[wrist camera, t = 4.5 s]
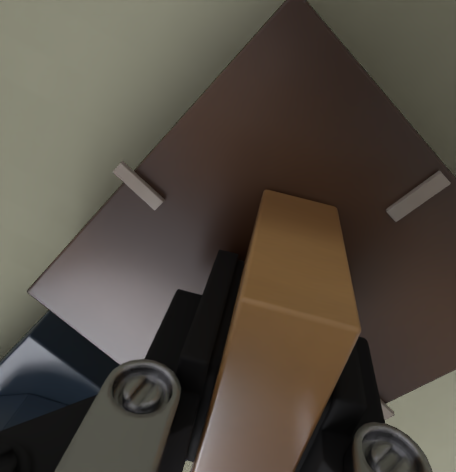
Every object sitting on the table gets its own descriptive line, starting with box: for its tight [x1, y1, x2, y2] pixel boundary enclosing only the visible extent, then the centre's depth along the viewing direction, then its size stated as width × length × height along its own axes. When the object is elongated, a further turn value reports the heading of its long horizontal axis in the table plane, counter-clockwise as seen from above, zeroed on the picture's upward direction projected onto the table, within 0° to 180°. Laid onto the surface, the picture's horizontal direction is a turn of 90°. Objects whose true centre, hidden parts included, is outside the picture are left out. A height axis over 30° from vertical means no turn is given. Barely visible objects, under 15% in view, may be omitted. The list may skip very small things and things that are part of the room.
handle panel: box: [27, 0, 456, 420], centre depth 13 cm, size 11×11×3 cm
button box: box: [0, 310, 187, 461], centre depth 18 cm, size 10×8×4 cm
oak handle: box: [191, 190, 361, 472], centre depth 9 cm, size 6×2×5 cm, turn 168°
